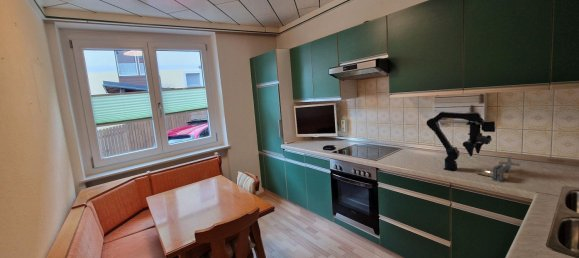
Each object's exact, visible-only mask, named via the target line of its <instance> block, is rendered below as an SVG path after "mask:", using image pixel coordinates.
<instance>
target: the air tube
mask: <svg viewBox="0 0 579 258" xmlns="http://www.w3.org/2000/svg"><path fill="white" fill-rule="evenodd" d="M475 174H476V175H479V176H486V177H491V178H493V169H485V168H480V167H476V170H475ZM510 176H511V174H510V172H509V173H505V172H504V174H503V180H507V181H509V180H510ZM497 179H499V170H497Z"/></svg>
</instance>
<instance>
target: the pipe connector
mask: <svg viewBox="0 0 579 258" xmlns="http://www.w3.org/2000/svg"><path fill="white" fill-rule="evenodd" d="M499 164H503V165H504V166H505V165H509V172H512V171H511V169H512V166H515V167H520V166H521V163H519V162H513V161H512V155H507V161H501V160H500V161H499V162H498V165H499Z"/></svg>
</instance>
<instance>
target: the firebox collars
mask: <svg viewBox="0 0 579 258" xmlns="http://www.w3.org/2000/svg"><path fill="white" fill-rule="evenodd" d="M492 171H493V177H492V178H491V180H492V181H493V180H494V182H497V181H499V182H498V183H503V182H504V179H503V174H504V173H509V174H510V171H509V165H505V164H499V163H498V164H497V165H496V166H494V167H493V169H492ZM497 171H498V172H499V178H497ZM502 181H503V182H502Z"/></svg>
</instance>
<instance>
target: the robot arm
mask: <svg viewBox="0 0 579 258" xmlns="http://www.w3.org/2000/svg"><path fill="white" fill-rule="evenodd" d="M443 118H445V119H457V120H465V121H467V123H465V125H466V126H469V132H468V133H467V135H468V136H469V138H468V139H467V140H465V141H463V143H462V147H463V148H465V150H466V151H467V153H468V155H469V157H473V155H474V154H473V153H474V150H475V152H476V154H480V152H481V149H482V146H483V145H488V144H490V143H491V142H492V140H493V139H492V135H489V134H488V135H483V132H484V133H495V132H496V121H494V120H492V121H491V120H490V121H487V120H485V119H484V118H483V117H482V114H481V112H478V111H471V112H464V113H463V112H450V111H440V112H439V113H438V114H437V115H435V116H434V117H430V118H429V119H428V120H427V121H426V126H427V127H428V128H429V129H430V130H431V131H433V132H434V134H435V136H437V139H439V141H440V143H441V144H442V146H443V147H444V149H445V152H446V155H447V156H446V157H445V158H444V168H443V170H445V171H449V172H454V171H456V170H458V163H457V160H458V159H459V157H460V150H459V149H458V148H457V146H453V145H452V144H451V142H450V141H449V140H448V138H447V136H446V135H445V134H444V132H443V131H442V129H441V127H440V122H439V121H441V120H443ZM481 131H483V132H481Z"/></svg>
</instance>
